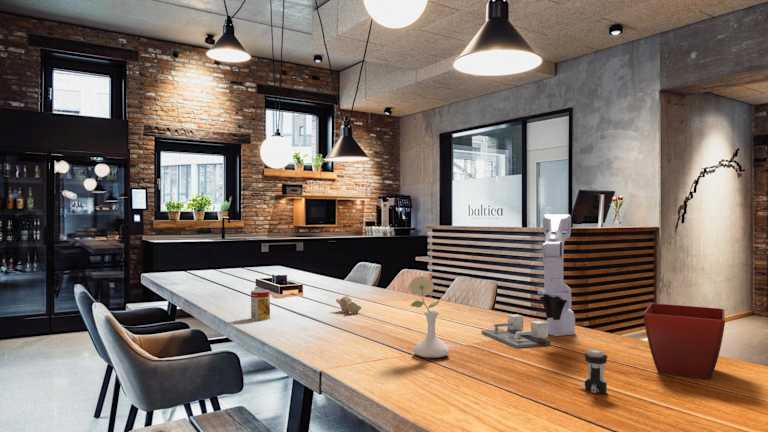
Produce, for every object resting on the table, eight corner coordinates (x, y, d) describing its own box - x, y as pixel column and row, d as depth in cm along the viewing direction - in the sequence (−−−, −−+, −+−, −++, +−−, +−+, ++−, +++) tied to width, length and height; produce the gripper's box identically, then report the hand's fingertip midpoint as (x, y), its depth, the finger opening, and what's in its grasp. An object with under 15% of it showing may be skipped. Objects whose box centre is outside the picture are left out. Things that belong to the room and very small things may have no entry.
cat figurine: (351, 301, 238) (336, 291, 247) (344, 316, 238) (330, 305, 247) (364, 305, 243) (349, 294, 252) (358, 319, 244) (343, 308, 253)
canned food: (273, 318, 233) (273, 290, 233) (260, 321, 226) (260, 292, 226) (260, 316, 237) (260, 289, 237) (247, 319, 230) (247, 291, 230)
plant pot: (725, 385, 137) (725, 319, 137) (643, 374, 147) (642, 312, 147) (725, 367, 153) (724, 308, 153) (650, 358, 164) (650, 303, 164)
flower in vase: (453, 352, 172) (452, 274, 172) (445, 362, 161) (444, 278, 161) (413, 349, 176) (413, 273, 176) (403, 358, 165) (403, 277, 165)
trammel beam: (512, 330, 204) (512, 326, 204) (550, 344, 181) (550, 340, 181) (507, 331, 203) (507, 327, 203) (545, 345, 181) (545, 340, 181)
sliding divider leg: (540, 335, 188) (540, 320, 188) (547, 338, 184) (547, 322, 184) (513, 338, 185) (513, 322, 185) (519, 340, 181) (519, 325, 181)
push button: (575, 390, 134) (575, 350, 134) (584, 385, 138) (583, 346, 138) (603, 396, 129) (602, 355, 129) (610, 391, 133) (610, 351, 133)
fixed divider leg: (517, 327, 202) (517, 314, 202) (523, 329, 199) (523, 316, 199) (491, 329, 199) (491, 316, 199) (496, 331, 195) (496, 318, 195)
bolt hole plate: (500, 331, 202) (500, 328, 202) (537, 346, 180) (537, 342, 180) (481, 333, 200) (481, 330, 200) (517, 348, 177) (517, 344, 177)
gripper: (530, 276, 184) (530, 315, 184) (556, 280, 170) (556, 323, 170) (547, 275, 186) (547, 314, 186) (575, 279, 172) (575, 322, 172)
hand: (553, 318), depth 178 cm, fingers open, 3 cm apart
